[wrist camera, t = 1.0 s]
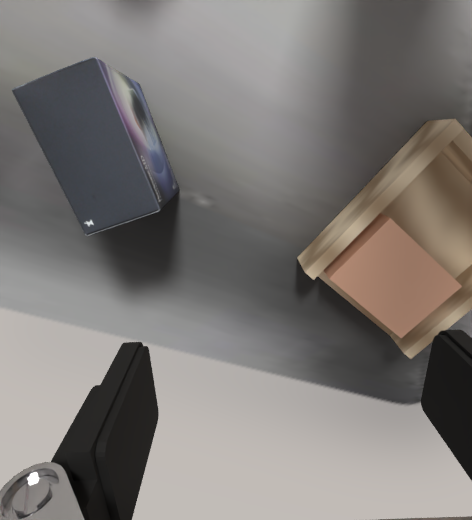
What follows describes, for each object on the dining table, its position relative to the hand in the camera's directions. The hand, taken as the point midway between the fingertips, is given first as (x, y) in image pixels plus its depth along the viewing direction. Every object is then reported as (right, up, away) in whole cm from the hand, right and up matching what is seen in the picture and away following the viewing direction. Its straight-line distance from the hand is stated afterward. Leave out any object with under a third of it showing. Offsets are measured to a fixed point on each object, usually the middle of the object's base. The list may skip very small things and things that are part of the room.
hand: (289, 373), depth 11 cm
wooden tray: (+17, +6, +25) cm, 30 cm away
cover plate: (+14, +3, +25) cm, 29 cm away
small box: (-12, +15, +22) cm, 28 cm away
